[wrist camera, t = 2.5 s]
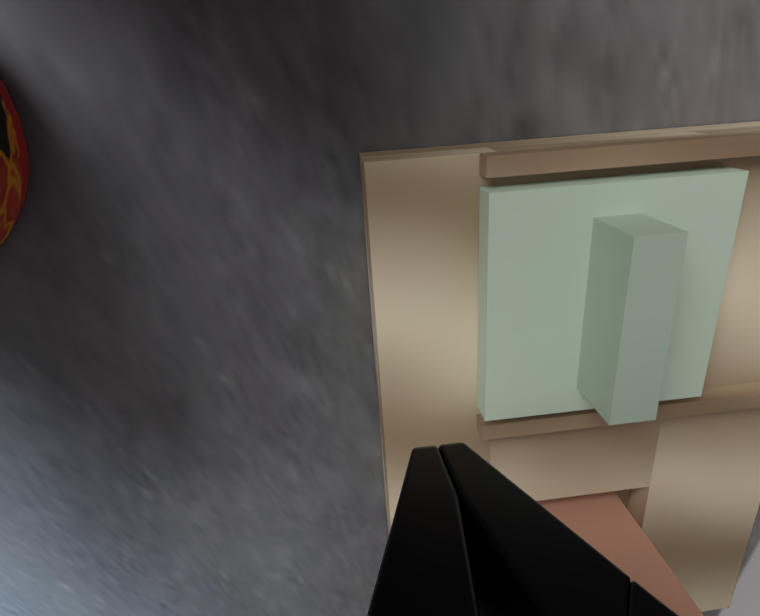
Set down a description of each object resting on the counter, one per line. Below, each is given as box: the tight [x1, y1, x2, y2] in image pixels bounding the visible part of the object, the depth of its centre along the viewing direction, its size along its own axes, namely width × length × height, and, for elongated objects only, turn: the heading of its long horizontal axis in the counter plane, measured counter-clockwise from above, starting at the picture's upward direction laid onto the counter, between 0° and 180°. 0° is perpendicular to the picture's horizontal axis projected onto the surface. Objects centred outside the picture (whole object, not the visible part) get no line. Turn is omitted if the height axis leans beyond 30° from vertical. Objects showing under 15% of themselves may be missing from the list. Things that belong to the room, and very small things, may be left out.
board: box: [359, 121, 760, 612], centre depth 17 cm, size 18×13×3 cm
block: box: [537, 491, 704, 616], centre depth 16 cm, size 4×4×6 cm
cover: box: [477, 166, 749, 425], centre depth 13 cm, size 6×6×3 cm
